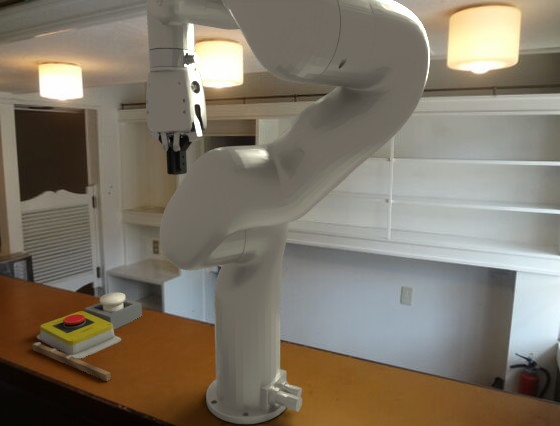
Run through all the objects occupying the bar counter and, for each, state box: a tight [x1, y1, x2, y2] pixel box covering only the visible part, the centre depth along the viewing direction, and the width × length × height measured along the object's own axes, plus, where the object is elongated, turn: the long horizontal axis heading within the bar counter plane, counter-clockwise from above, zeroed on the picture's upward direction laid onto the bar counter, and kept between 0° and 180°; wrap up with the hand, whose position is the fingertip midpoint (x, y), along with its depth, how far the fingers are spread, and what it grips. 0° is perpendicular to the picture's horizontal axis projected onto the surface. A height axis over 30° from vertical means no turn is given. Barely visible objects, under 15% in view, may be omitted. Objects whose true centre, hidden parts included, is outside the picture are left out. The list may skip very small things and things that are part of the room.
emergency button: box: [36, 310, 122, 360], centre depth 85 cm, size 9×4×15 cm
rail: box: [32, 341, 112, 382], centre depth 76 cm, size 20×1×1 cm, turn 60°
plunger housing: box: [84, 298, 143, 331], centre depth 93 cm, size 8×8×3 cm
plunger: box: [99, 292, 126, 313], centre depth 93 cm, size 5×5×4 cm
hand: (177, 173), depth 77 cm, fingers closed
